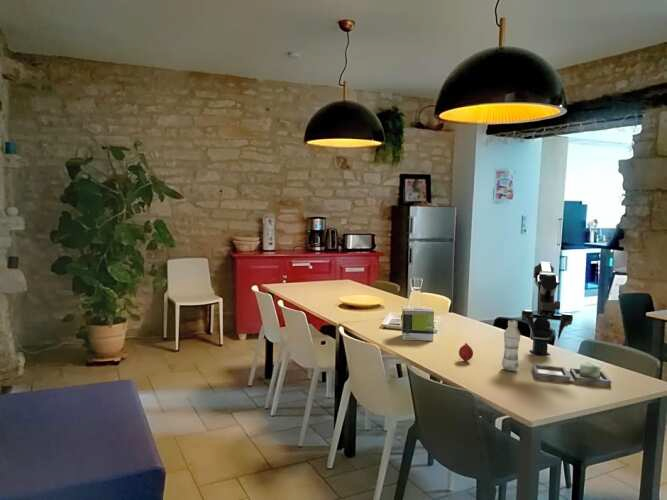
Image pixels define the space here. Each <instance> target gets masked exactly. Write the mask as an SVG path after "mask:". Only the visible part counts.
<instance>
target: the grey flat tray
mask: <svg viewBox="0 0 667 500" xmlns="http://www.w3.org/2000/svg"><path fill="white" fill-rule="evenodd" d="M531 368H532V369H531V371H532V373H533V377H534V379H535V380H537V381H546V382H557V383H562V384H563V383H565V384H575V385H583V386H591V387H592V386H595V387H602V388H610V389H611V388H612V380H611V379H610V378H609V377H608V375H607V374H606V373H605V371H604V370H601V368H602V366H601V365H600V364H598V363H594V362H585V361H584V362H581V363H580V365H579V368H576V367H575V368H574V367H569V371H567V368H566V367H564V366H554V365H545V364H536V363H535V364H534V363H533V364H532V367H531Z"/></svg>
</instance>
